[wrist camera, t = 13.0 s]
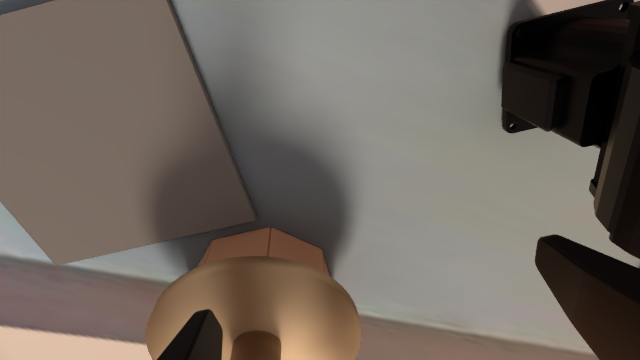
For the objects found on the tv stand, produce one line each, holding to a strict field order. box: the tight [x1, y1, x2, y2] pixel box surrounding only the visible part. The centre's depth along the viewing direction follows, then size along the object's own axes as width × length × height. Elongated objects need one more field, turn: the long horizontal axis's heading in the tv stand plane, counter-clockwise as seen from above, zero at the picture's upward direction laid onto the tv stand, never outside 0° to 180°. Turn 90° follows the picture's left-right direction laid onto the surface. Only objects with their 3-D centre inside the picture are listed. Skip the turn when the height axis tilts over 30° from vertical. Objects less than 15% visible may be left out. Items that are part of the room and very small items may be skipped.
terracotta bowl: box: [196, 227, 330, 276], centre depth 24 cm, size 11×11×4 cm
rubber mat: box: [0, 0, 256, 266], centre depth 20 cm, size 15×15×1 cm
